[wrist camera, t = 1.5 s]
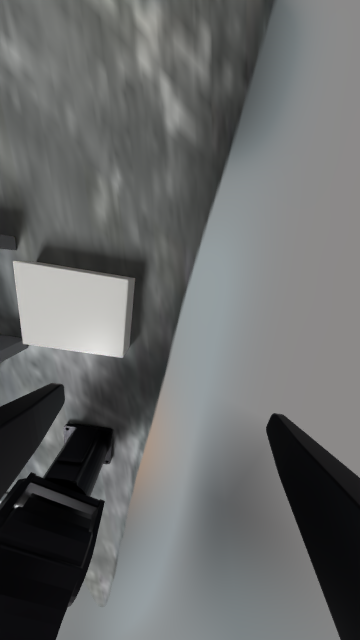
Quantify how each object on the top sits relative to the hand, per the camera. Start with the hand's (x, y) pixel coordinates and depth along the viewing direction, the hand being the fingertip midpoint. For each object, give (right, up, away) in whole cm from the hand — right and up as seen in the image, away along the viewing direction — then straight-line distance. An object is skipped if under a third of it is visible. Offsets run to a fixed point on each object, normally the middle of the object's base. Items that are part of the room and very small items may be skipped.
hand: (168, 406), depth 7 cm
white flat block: (-10, +5, +11) cm, 16 cm away
